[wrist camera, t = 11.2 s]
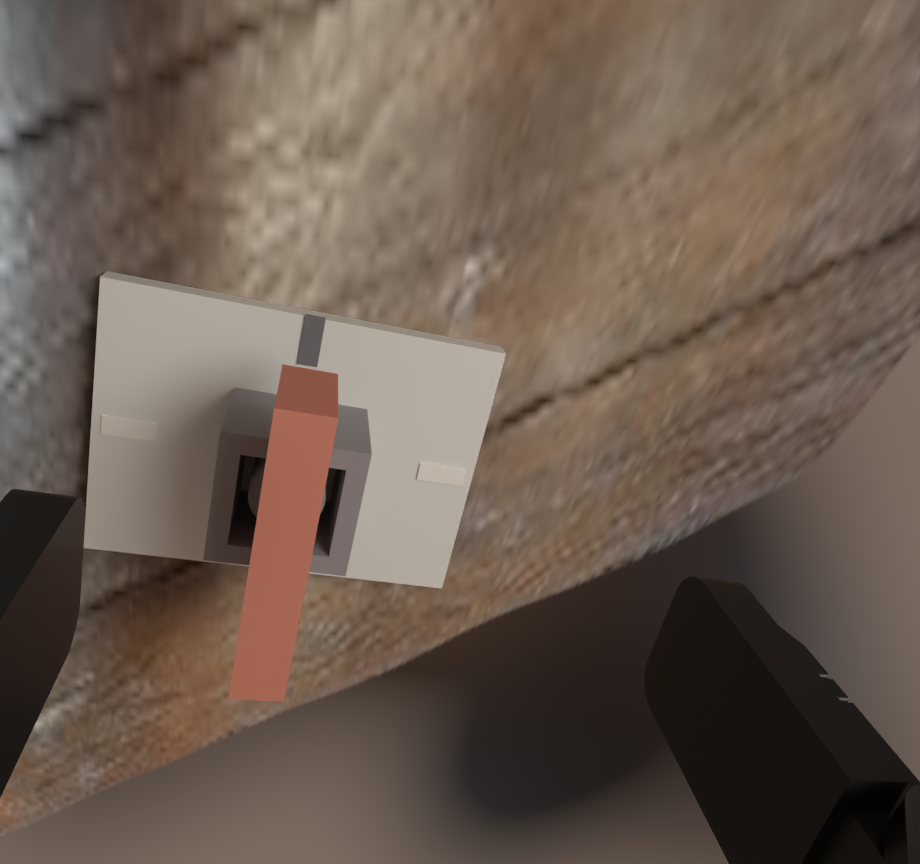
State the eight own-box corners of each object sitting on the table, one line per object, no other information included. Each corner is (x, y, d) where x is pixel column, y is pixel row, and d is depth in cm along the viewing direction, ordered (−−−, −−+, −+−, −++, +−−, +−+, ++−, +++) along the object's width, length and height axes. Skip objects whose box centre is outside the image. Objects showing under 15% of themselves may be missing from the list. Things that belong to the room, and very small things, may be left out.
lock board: (90, 537, 42) (52, 606, 36) (107, 269, 36) (65, 301, 31) (439, 578, 47) (453, 644, 41) (501, 345, 41) (528, 385, 35)
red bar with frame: (244, 319, 37) (213, 398, 28) (380, 345, 39) (395, 427, 29) (211, 559, 42) (175, 694, 33) (333, 572, 44) (332, 705, 34)
